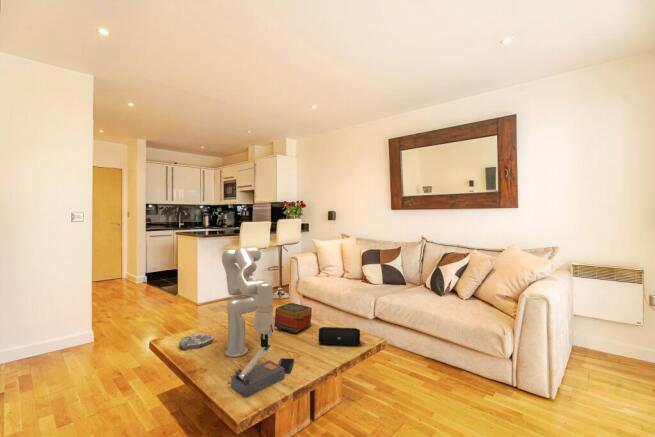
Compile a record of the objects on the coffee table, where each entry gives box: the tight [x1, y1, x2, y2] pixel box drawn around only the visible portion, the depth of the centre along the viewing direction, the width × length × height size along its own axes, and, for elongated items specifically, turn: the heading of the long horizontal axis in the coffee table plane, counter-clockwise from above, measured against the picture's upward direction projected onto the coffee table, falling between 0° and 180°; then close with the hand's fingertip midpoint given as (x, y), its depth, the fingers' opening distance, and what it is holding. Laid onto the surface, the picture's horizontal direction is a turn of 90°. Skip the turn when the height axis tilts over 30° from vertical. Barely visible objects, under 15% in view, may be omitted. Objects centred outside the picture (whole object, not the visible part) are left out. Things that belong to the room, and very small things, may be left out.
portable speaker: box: [318, 326, 361, 346], centre depth 192 cm, size 26×10×10 cm, turn 86°
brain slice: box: [178, 333, 214, 350], centre depth 189 cm, size 20×17×3 cm
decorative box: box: [274, 302, 313, 334], centre depth 216 cm, size 20×22×16 cm
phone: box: [278, 357, 295, 375], centre depth 162 cm, size 8×1×15 cm
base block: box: [230, 359, 286, 398], centre depth 146 cm, size 22×12×8 cm, turn 138°
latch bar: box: [237, 343, 273, 380], centre depth 144 cm, size 18×5×2 cm
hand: (264, 346), depth 148 cm, fingers closed
